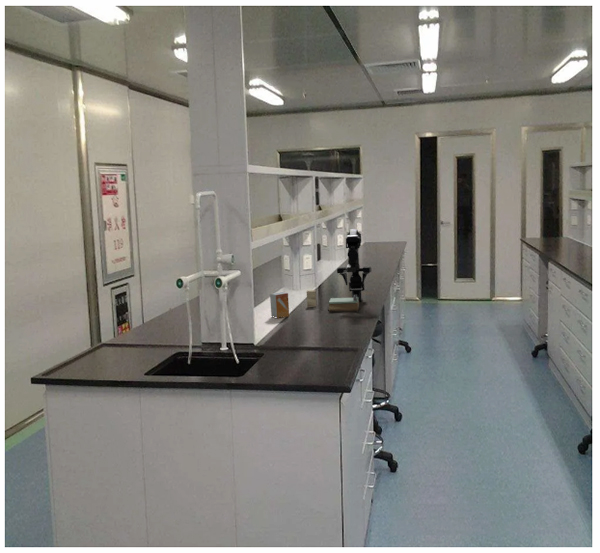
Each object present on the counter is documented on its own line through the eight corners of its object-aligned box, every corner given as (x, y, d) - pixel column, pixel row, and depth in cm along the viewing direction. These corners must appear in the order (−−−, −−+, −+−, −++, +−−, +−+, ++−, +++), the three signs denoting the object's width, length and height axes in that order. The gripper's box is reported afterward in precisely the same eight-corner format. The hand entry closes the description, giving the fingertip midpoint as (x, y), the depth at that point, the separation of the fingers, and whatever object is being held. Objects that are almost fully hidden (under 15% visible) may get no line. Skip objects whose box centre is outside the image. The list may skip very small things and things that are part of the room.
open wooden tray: (331, 307, 343) (330, 300, 343) (358, 306, 341) (358, 299, 340) (329, 311, 331) (328, 304, 331) (357, 310, 329) (357, 303, 328)
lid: (330, 299, 342) (330, 294, 342) (358, 299, 340) (358, 293, 340) (328, 303, 331) (328, 298, 331) (357, 302, 329) (357, 297, 328)
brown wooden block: (308, 305, 354) (307, 290, 352) (316, 305, 353) (315, 290, 351) (307, 306, 349) (306, 291, 348) (315, 306, 348) (314, 291, 347)
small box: (277, 318, 321) (275, 294, 319) (271, 317, 326) (269, 293, 324) (289, 316, 325) (288, 292, 323) (283, 314, 330) (282, 291, 329)
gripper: (333, 259, 328) (335, 287, 330) (367, 258, 322) (368, 287, 324) (338, 257, 338) (340, 284, 341) (371, 256, 333) (372, 284, 335)
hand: (354, 285), depth 335 cm, fingers open, 9 cm apart
